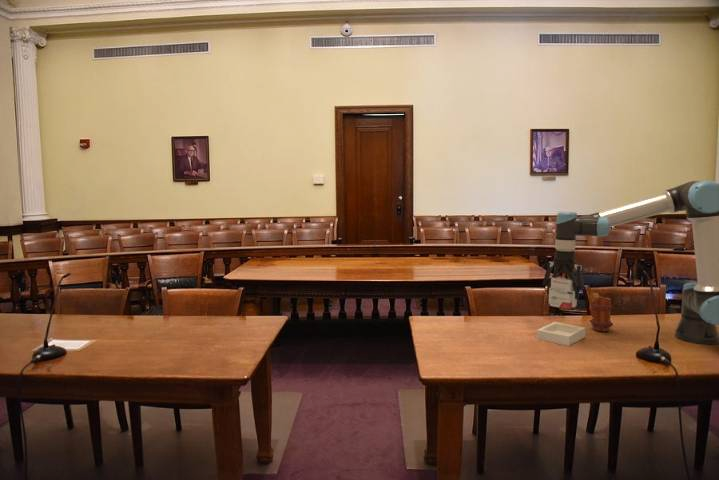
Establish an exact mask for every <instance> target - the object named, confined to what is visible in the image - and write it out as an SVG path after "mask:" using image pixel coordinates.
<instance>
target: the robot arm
mask: <svg viewBox="0 0 719 480" xmlns="http://www.w3.org/2000/svg"><path fill="white" fill-rule="evenodd" d="M684 211H685V216H686V220H688V221H690V223H691V228H692V237H693V247H694V255H695V256H694V257H695V268H696V280H697V283H696V282H685V283H684V284H683V287H682V288H683V289H682V292H681V293H682V295H681V296H682V297H681V298H682V299H681V311H680V312H681V314H680V315H681V316H680V319H679V322H678V323H677V326H676V328H675V330H674V337H675V338H677V339H679V340H682V341H685V342H689V343H694V344H702V345H715V344H716V345H717V344H718V343H719V330H718V328H717V326H719V183H718V182H716V181H712V180H707V179H706V180H692V181H688V182H685V183H683V184H680V185H678V186H675V187H674V186H673V187H672V188H669V189H666V190H663V192H661V194H656V195H654V196H649V197H646V198H642V199H640V200H635V201H632V202H629V203H626V204H622V205H619V206H616V207H615V206H614V207H612V208H608V209H605V210H602V211H600V210H599V211H598V212H595V213H591V214H584V215H581V216H578V214H577V212H576V211H559V212H558V213H557V214H556V222H555V244H554V245H555V246H554V248H555V249H556V250H554V260H553V261H548V262H546V269H545V270H546V271H545V273H544V277H543V281H542V285H543V286H546V287H547V290H546V295H548V304H550V294H551V278H557V277H558V276H559V275H560V273H563V274H567V276H568V279H570V280H572V285H573V287H574V291H573V294H572V307H575V308H576V307H577V303H578V301H577V300H579V299H580V292H581V291H583V290H585V288H586V286H585V282H584V275H583V267H584V266H583V265H582V264H580V265H579V264H576V262H575V259H576V258H575V257H576V251H575V250H576V239H577V236H578V237H579V236H581V237H583V236H584V237H599V238H601V237H607V236H609V234H610V232H611V231H610V230H611V228H612V227H616V226H619V225H624V224H627V223H632V222H635V221H638V220H642V219H646V218H649V217H652V216H653V217H654V216H657V215H660V214H664V213H670V214H674V213H677V212H684ZM553 267H555V270H554V271H553V274H552V276H551V273H552V270H553ZM574 268H575V271H576V276H575V273H574Z"/></svg>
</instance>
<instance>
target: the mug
mask: <svg viewBox="0 0 719 480" xmlns="http://www.w3.org/2000/svg"><path fill="white" fill-rule="evenodd" d="M588 306H589V312H590V315H591V318H592V319H589V322H590V324H591V326H592V329H593V330H594V331H595V332H596V331H597V332H602V333H603V332H608V331H610V329H611V327H613V325H614V324H613V322H612V321H611V313H612V312H611V311H613V309H614V306H613V305H612V300H611V298H610V297H604V296H600V295H599V293H598V292H592V293H591V295H590V297H589V305H588Z"/></svg>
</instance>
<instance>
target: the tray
mask: <svg viewBox="0 0 719 480" xmlns="http://www.w3.org/2000/svg"><path fill="white" fill-rule="evenodd" d="M585 337H586V327H583V326H580V325H579V326H577V325H572V324H567V323H562V322H557V321H553V322H552V323H551V322H550V323H549V324H547V325H544V326H543V327H540V328H538V329H537V330H536V340H540V341H545V342H549V343H553V344H559V345H563V346H568V347H569V346H571V345H573V344H574V343H576V342H578V341H580V340H582V339H584V338H585Z"/></svg>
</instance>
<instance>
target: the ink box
mask: <svg viewBox="0 0 719 480" xmlns="http://www.w3.org/2000/svg"><path fill="white" fill-rule="evenodd" d="M550 279H551V294H550V303H549V306H551V307H555V308H560V309H564V310H571V309H574V308H576V307H572V294H573V291H574V287H573V285H572V280H570V278H566V277H558V276H557V278H551V277H550Z"/></svg>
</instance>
